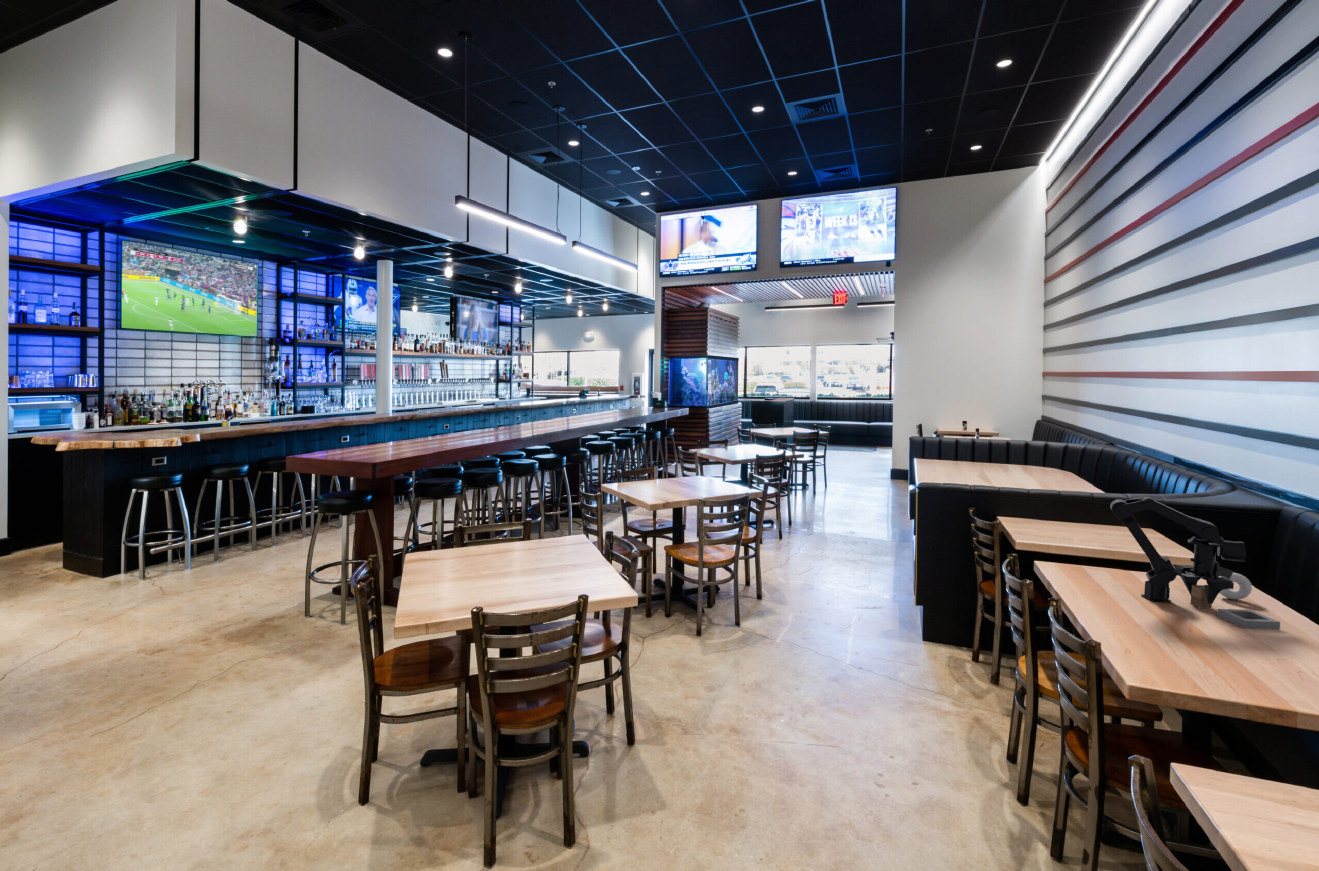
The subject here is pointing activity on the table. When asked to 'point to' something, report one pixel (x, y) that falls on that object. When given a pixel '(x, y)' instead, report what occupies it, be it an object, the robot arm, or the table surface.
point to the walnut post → (1199, 597)
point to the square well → (1248, 619)
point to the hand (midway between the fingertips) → (1201, 599)
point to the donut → (1241, 591)
